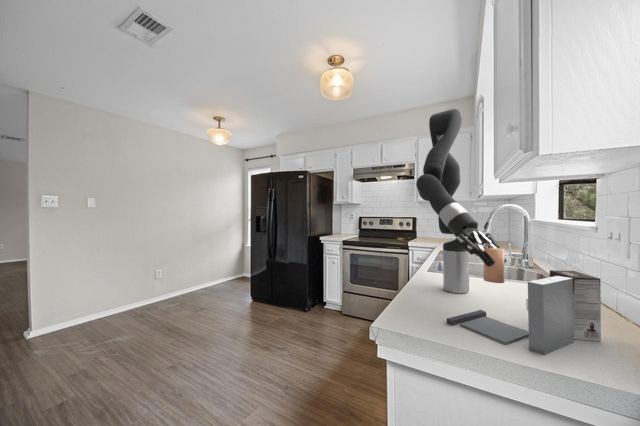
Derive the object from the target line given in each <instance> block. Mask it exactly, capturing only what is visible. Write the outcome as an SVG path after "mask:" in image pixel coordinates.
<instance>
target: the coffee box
mask: <svg viewBox="0 0 640 426" xmlns="http://www.w3.org/2000/svg"><path fill="white" fill-rule="evenodd" d="M554 276H562V277H568V278H573V317H574V340H582V341H592V342H593V341H595V342H601V341H602V324H601V323H602V322H601V321H602V312H601V311H602V308H601V307H602V306H601V305H602V303H601V302H602V300H601V299H602V297H601V292H602V291H601V290H602V289H601V288H602V287H601V286H602V284H601V279H602V278H600V277H595V276H592V275H589V274H585V273H583V272H580V271H575V270H553V269H552V270H549V277H554Z"/></svg>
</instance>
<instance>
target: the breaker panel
mask: <svg viewBox="0 0 640 426" xmlns="http://www.w3.org/2000/svg"><path fill="white" fill-rule="evenodd" d="M525 302H526V303H525V306H526V307H525V308H526V309H525V310H526V311H527V312H528V314H527V315H528V317H527V318H528V332H529V336H528V349H529V350H531V351H533V352H535V353H537V354H540V355H543V356H545V355H548V354H550V353H553V352H555V351H558V350H560V349H561V348H564V347H566V346H569V345H570V344H571V345H572V344H573V343H574V342H575V339H574V317H573V278H568V277H562V276H554V277H550V276H549V277H544V278H540V279H534V280H529V281H527V297H526V298H525Z"/></svg>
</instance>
